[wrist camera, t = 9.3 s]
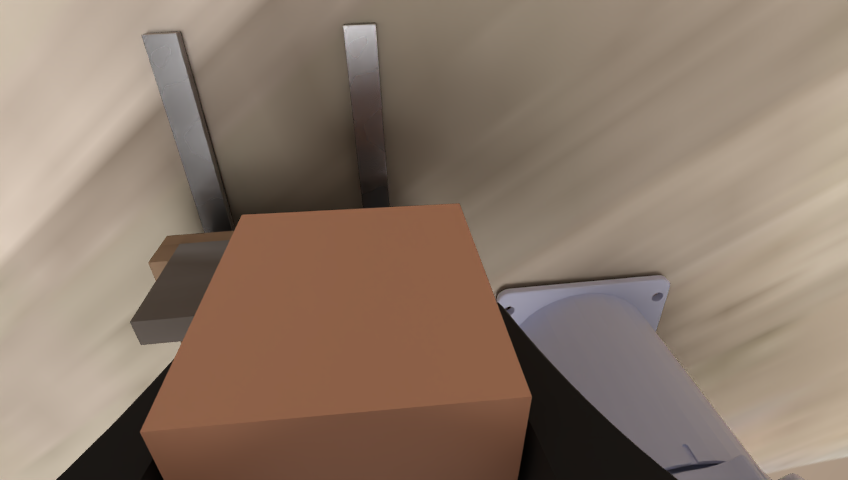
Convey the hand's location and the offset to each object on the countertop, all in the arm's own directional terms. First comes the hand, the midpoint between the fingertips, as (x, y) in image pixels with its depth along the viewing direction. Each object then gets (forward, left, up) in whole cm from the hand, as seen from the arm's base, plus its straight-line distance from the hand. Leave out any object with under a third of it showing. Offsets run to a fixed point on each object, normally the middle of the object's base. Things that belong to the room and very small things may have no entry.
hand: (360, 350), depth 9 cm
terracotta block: (0, 0, -2) cm, 2 cm away
